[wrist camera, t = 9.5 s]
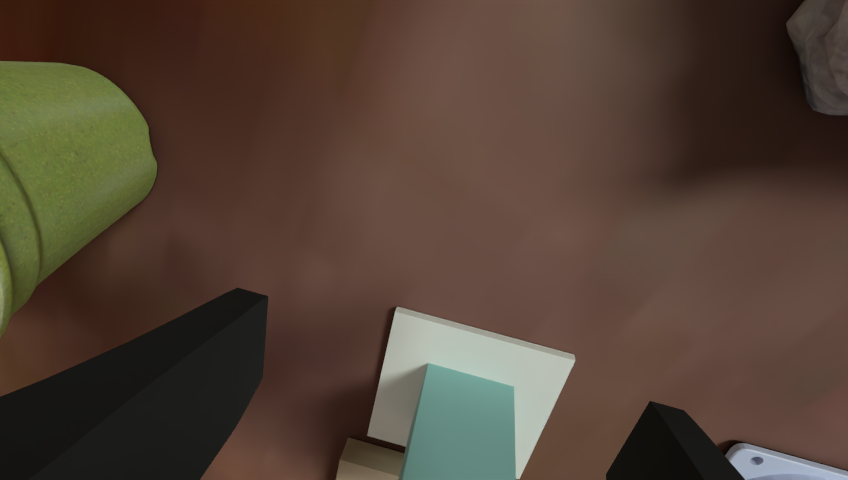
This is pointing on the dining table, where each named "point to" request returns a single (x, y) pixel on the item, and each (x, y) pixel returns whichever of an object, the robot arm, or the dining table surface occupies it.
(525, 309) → the dining table surface
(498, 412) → the teal block
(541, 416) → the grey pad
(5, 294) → the plant pot
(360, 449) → the board
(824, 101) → the geode
